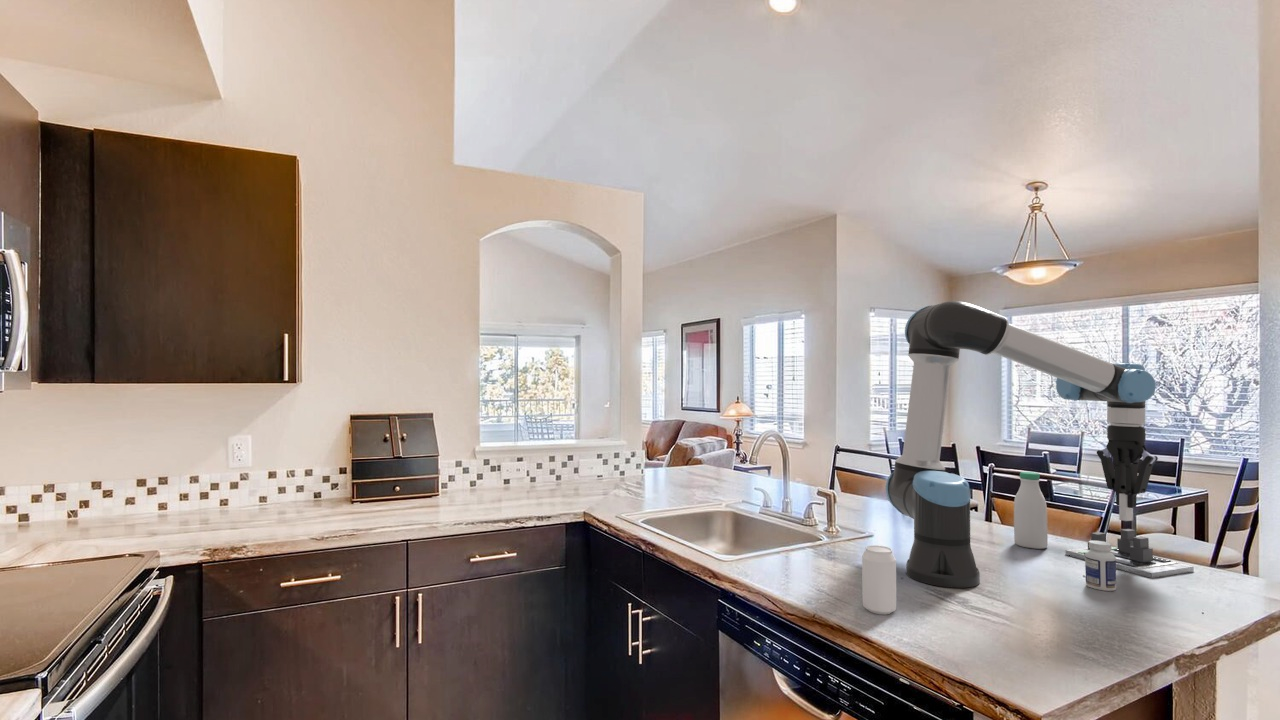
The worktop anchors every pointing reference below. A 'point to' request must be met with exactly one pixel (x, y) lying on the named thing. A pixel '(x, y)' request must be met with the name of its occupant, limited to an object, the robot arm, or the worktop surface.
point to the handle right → (1126, 540)
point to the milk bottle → (1030, 513)
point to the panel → (1139, 564)
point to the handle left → (1097, 537)
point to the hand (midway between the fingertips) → (1126, 520)
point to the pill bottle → (1100, 566)
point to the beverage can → (879, 580)
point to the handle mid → (1141, 550)
